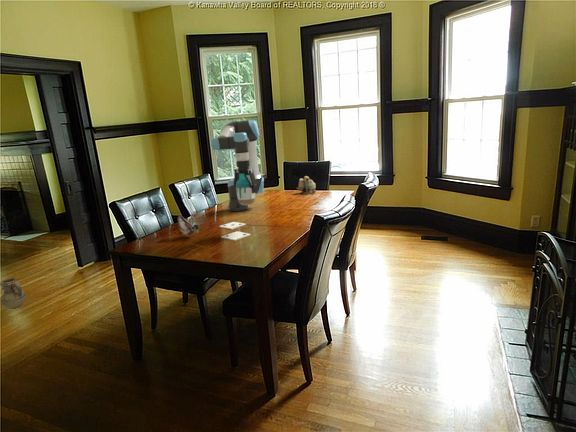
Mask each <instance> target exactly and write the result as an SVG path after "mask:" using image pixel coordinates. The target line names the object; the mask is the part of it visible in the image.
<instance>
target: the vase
mask: <svg viewBox="0 0 576 432" xmlns="http://www.w3.org/2000/svg"><path fill="white" fill-rule="evenodd" d="M239 177H240V178H239V180H238V181H237V183H236V189H237V197H238V201H239V203H240V204H241V205H248V206H250V205H253V204H254V203H255V201H256V197H255V198H254V199H251V194H250V187H251V186H250V184H249V182H248V181H247V179H246V178H245V176H244V174H241V173H239Z"/></svg>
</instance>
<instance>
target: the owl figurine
mask: <svg viewBox="0 0 576 432" xmlns="http://www.w3.org/2000/svg"><path fill="white" fill-rule="evenodd" d="M316 187H317V186H316V183H315V182H314V181H313V179H311V178H310V177H309V176H307V175H305V176H304V177H303V178H299V180H298V186H297V187H296V190H297V191H300V192H299V194H300V193H303V194H310V195H314V194H315V193H316V192H317V190H316ZM313 193H314V194H313ZM303 194H302V195H303Z"/></svg>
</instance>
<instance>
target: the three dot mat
mask: <svg viewBox="0 0 576 432" xmlns="http://www.w3.org/2000/svg"><path fill="white" fill-rule="evenodd" d="M243 226H247V223H243V222H237V221H232V222H231V221H230V222H228V223H225V224H222V225H219V228H222V229H228V230H234V229H238V228H240V227H243Z"/></svg>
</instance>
